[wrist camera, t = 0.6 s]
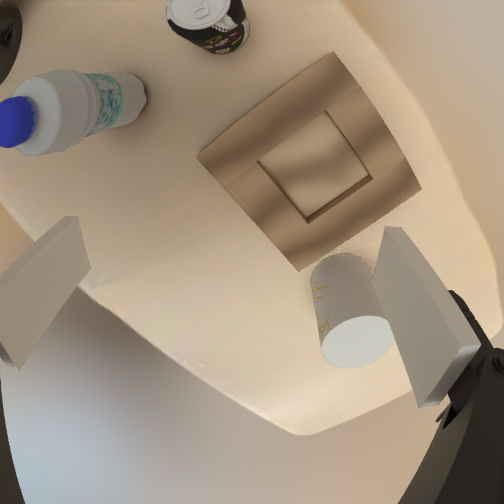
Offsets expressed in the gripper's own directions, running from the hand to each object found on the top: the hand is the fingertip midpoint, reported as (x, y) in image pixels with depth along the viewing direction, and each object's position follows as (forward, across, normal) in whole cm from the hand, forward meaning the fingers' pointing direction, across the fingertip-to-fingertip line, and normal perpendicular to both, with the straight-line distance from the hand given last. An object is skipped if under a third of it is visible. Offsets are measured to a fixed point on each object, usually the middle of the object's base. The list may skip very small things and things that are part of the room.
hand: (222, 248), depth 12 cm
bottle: (+23, -14, +6) cm, 28 cm away
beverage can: (+23, -3, +13) cm, 27 cm away
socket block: (+23, +7, -2) cm, 24 cm away
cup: (+23, +12, -17) cm, 31 cm away
